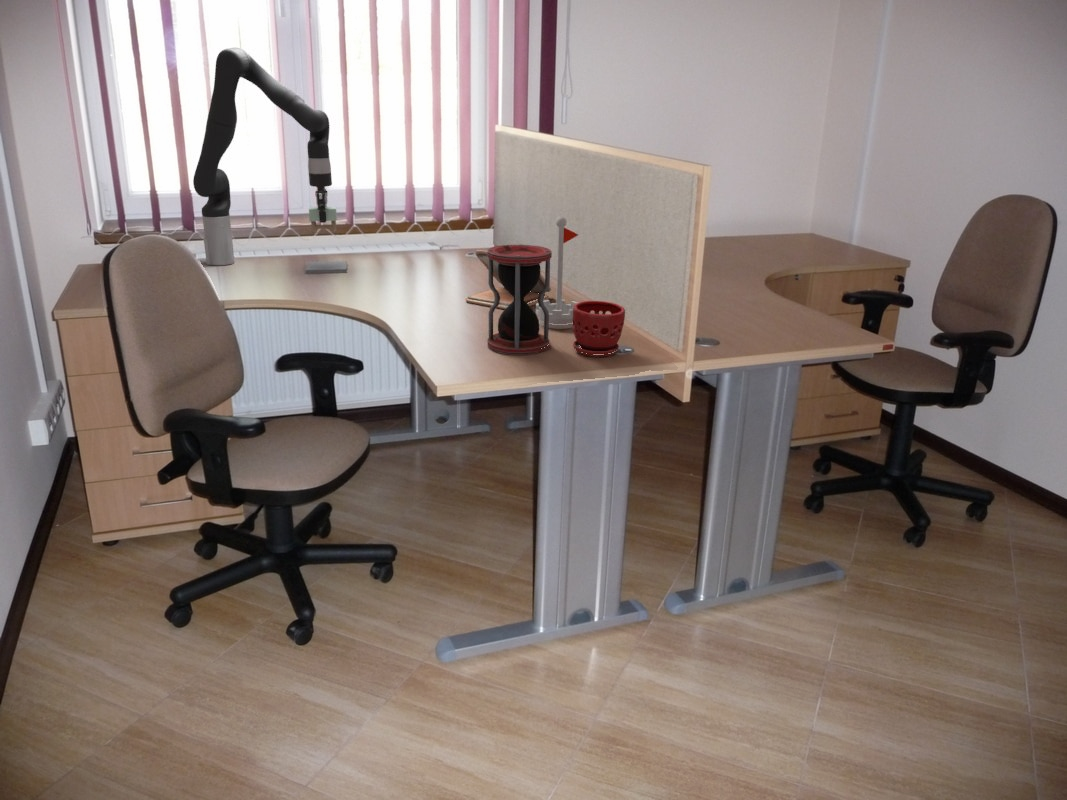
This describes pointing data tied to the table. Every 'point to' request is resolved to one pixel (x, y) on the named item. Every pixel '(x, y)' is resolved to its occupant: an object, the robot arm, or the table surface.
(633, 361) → the table surface
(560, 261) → the flag stand
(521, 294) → the hourglass
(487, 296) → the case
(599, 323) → the plant pot
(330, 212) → the mint green toy brick
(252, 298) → the table surface
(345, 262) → the mat
